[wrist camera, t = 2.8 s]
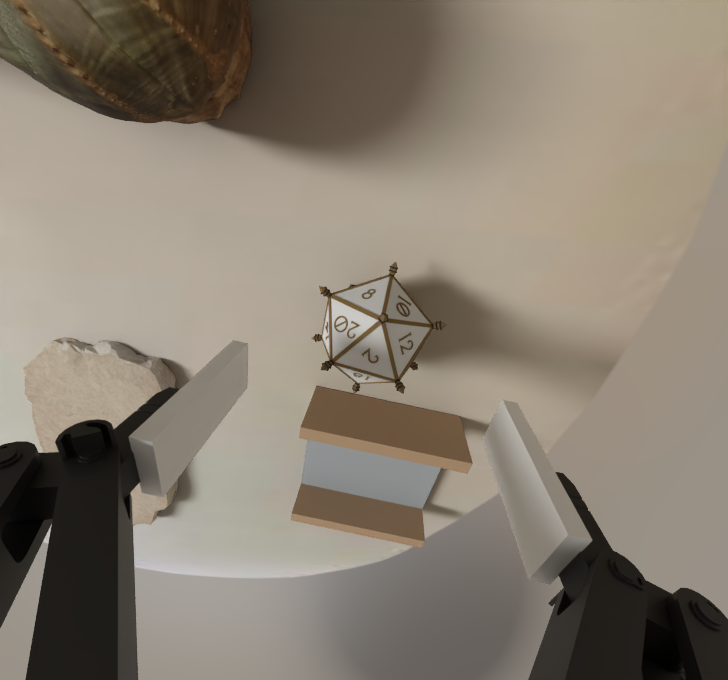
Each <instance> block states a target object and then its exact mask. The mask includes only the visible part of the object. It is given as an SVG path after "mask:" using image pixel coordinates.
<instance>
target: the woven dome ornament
mask: <svg viewBox="0 0 728 680" xmlns="http://www.w3.org/2000/svg"><path fill="white" fill-rule="evenodd" d="M251 52H252V31H251V20H250V14H249V9H248V4H247V0H0V57H1V58H2V59H4V60H6V61H7V62H9V63H10V64H12V65H14V66H15V67H17V68H19V69H20V70H22V71H24V72H25V73H27V74H28V75H30V76H31V77H32V78H34V79H35V80H37V81H38V82H40V83H42V84H43V85H45V86H46V87H48V88H49V89H51V90H52V91H54V92H56V93H58V94H60V95H61V96H63V97H65V98H68V99H70V100H72V101H74V102H76V103H78V104H80V105H82V106H85V107H87V108H89V109H91V110H93V111H95V112H97V113H100V114H103V115H105V116H108V117H112V118H115V119H120V120H125V121H135V122H142V123H156V122H162V121H171V122H178V123H183V124H193V123H197V122H201V121H205V120H212V119H216V118H219V117H220V116H221V114H222V112H223V109H224V107H225V106H226V105H227V104H228V103H229V102H230V101H232V100H233V99H235V98H239V97H240V93H241V88H242V85H243V82H244V79H245V76H246V74H247V70H248V67H249V63H250V60H251Z"/></svg>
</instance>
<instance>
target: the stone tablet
mask: <svg viewBox="0 0 728 680" xmlns="http://www.w3.org/2000/svg"><path fill="white" fill-rule="evenodd" d="M24 372H25V394H26V397H27V399H28V400H29V401H31V402H32V410H33V420H34V424H35V429H36V434H37V436H38V439H39V442H40V445H41V447H42V449H43V451H44V453H48V452H59V451H58V449H57V446H56V444H55V441H56V439H57V437H58V435H59V434H60V433H62V432H63V431H64V430H65V429H67V428H69V427H71V426H72V425H74V424H77V423H80V422H83V421H87V420H95V419H100V420H106V421H108V422H110V423H112V426H113V428H114V429H115V428H116V427H117V426H118V425H119V424H121V423H122V422H123V421H124V420H125V419H127V418H128V417H129V416H130V415H131V414H132V413H134V412H135V411H137V410H138V408H139V407H141V406H142V405H143V404H145V403H146V402H147V401H148V400H149V399H150V398H151V397H152V396H154V395H155V394H156V393H158V392H160V391H162V390H164V389H167V388H169V387H172V388H176V387H175V381H176V378H175V376H174V375H173V373H172V371H171V370H170V369H168V367H167V365H165V364H163V362H162V361H161V359H160V358H158V357H144V356H141V355H137V354H136V353H135V352H134V351H132V350H131V349H130V348H128V347H126V346H124V345H123V344H121V343H118V342H116V341H99V342H98V344H96V345H87V344H85V343H82V342H79V341H78V340H76V339H72V338H66V337H65V338H61V339H58V340H54V341H52V342H51V343H50V344H49V345H48V346H47V347H45V348H44V350H43V351H42V352H41V353H40V354H39V355H38V356H36V358H35V359H34V360H33V361H31V362H30V363H29V364H28V365H27V366H25V367H24ZM177 487H178V479H177V480H176V482H175V483H174V484H173V486H172V487H171V488H170V490H169V491H168V492H167V493H166V495H165V496H164V497H163V498H161V497H157V496H152V495H148V494H143V493H142V492H141V487H140V483H139V484H138V485H137V486H136V487H135V488H134V489H133V490H132V492H131V496H132V517H133V526H134V525H135V524H152V523H153V521H154V520H155V519H156V517H157V516H158V515H159V512H160V510H164V509H165V508H166V507H168V506H169V505H170V504H171V502H172V501H173V500H174V498H175V496H176V492H177Z"/></svg>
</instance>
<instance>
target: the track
mask: <svg viewBox="0 0 728 680" xmlns="http://www.w3.org/2000/svg"><path fill="white" fill-rule="evenodd" d="M299 438H302V439H307V446H306V454H305V461H304V468H303V475H302V482H301V486H300V489H299V492H298V495H297V499H296V502H295V505H294V508H293V511H292V516H291V520H292V521H297V522H302V523H307V524H311V525H316V526H321V527H326V528H330V529H335V530H340V531H345V532H349V533H354V534H359V535H364V536H368V537H373V538H378V539H383V540H387V541H392V542H397V543H401V544H406V545H411V546H416V547H422V546H423V544H424V542H425V539H424V526H423V514H422V508H423V506H424V504H425V502H426V500H427V497H428V495H429V493H430V491H431V489H432V487H433V485H434V482H435V480H436V478H437V476H438V474H439V472H440V470H441V468H443V469H448V470H453V471H457V472H462V473H468V472H469V470H470V468H471V466H472V464H473V463H472V459H471V456H470V452H469V448H468V445H467V441H466V438H465V434H464V430H463V427H462V423H461V419H460V416H455V415H450V414H446V413H441V412H436V411H432V410H427V409H422V408H418V407H413V406H408V405H404V404H399V403H394V402H390V401H385V400H380V399H376V398H371V397H366V396H361V395H357V394H352V393H347V392H343V391H338V390H333V389H329V388H324V387H319V386H316V389H315V391H314V394H313V397H312V399H311V402H310V404H309V407H308V409H307V412H306V415H305V417H304V420H303V422H302V425H301V428H300V436H299Z"/></svg>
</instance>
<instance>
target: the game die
mask: <svg viewBox="0 0 728 680" xmlns="http://www.w3.org/2000/svg"><path fill="white" fill-rule="evenodd" d="M397 269H398V268H397V264H396V262H395V263H394V264H393V265H392V266H390V270H389V271H390V274H389V275H386V276H383V277H380V278H377V279H374V280H371V281H368V282H365V283H362V284H359V285H356V286H355V285H351V284H350V287H349V288H347V289H344V290H341V291H338V292H335V293H330V290H329V289H327V287H320V286H319V288H320V291H321V294H323V295H324V296H327V297H328V303H327V308H326V314H325V319H324V325H323V330H322V335H319V334H318V335H316V334H315V336H314V337H313V338H312V339H313V340H315V342H316V341H321V340H322V341H323V343H324V346H325V349H326V351H327V354H328V357H329V361H325V363H322V368H321V370H327V371H328V370H329V368H330V369H331V366H332V365H334V366H335V367H336V368H338V369H339V370H340V371H341V372H343V373H344V374H345V375H347V376H348V377H349V378H350V379H352V380H353V381H354V382H355V384H354V385H353V388H352V389H353V391H354V393H356V392H357V391H359V388H360V386H359V385H360V384H366V383H393V382H395V384H396V386H395V387H396V388H397V391H399V392H401V393H403V394H404V388H405V387H404V385H403V383H402V382H400V380H401V378H402V377H403V375H404V374H405V372H406V371H407V370H408V368H409V367H411V368H412V369H413V370H417V369H418V367H417V366H418V364H416V362H413V361H414V359H415V357H416V356H417V354H418V352H419V351H420V349H421V347H422V346H423V344H424V342H425V341H426V339H427V337H428V336H429V334H430V332H431V331H432V329H437V330H438V329H440V330H441V329H442V328H443V327H444V326H446V325H447V324H444V323H442V322H441V321H440V322H436V323H434V324H433V323H431V321H430V320H429V319H428V318H427V316H426V315H425V314H424V313H423V312H422V310H421V309H420V308H419V307H418V305H417V304H416V303H415V302H414V300H413V299H412V298H411V297H410V295H409V294H408V293H407V292H406V290H405V289H404V288H403V287H402V286H401V284H400V283H399V282H398V281H397V279H396V278H395V277H394V275H395V273H397V272H396V271H397Z"/></svg>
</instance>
